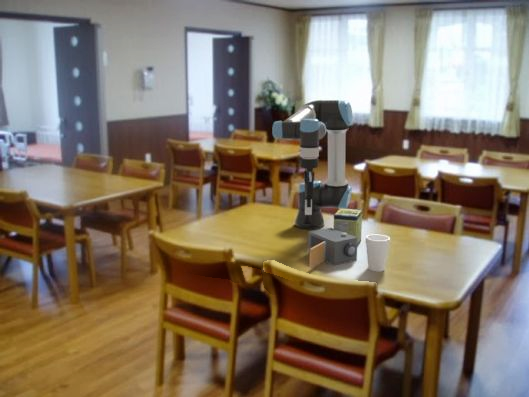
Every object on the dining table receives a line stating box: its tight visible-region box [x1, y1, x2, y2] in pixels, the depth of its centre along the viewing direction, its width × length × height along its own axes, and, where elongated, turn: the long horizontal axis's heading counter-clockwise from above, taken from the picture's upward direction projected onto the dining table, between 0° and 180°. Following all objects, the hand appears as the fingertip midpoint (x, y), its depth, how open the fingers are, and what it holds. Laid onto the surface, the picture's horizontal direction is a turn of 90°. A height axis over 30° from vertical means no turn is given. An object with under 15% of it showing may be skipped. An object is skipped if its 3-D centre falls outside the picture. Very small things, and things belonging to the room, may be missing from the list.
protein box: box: [333, 207, 363, 248], centre depth 246 cm, size 10×16×16 cm
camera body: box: [307, 227, 358, 266], centre depth 229 cm, size 12×20×11 cm, turn 32°
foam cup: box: [365, 233, 391, 272], centre depth 215 cm, size 10×9×13 cm
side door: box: [308, 241, 326, 269], centre depth 218 cm, size 1×12×8 cm, turn 146°
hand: (308, 214), depth 223 cm, fingers closed
